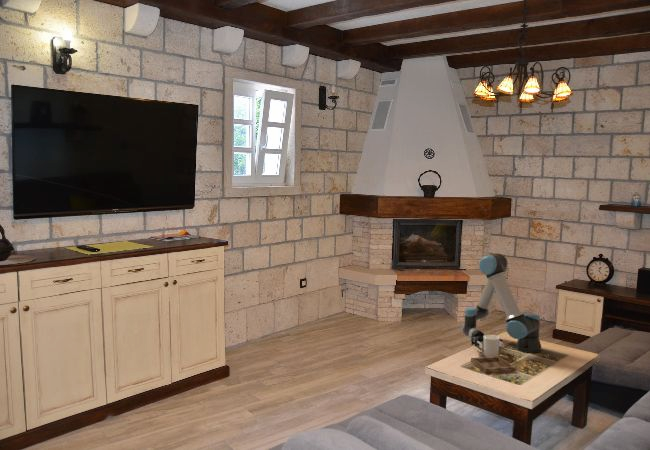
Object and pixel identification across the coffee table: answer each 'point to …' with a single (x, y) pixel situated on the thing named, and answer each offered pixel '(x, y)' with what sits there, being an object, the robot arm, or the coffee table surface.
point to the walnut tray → (492, 364)
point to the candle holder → (491, 345)
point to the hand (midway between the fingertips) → (492, 346)
